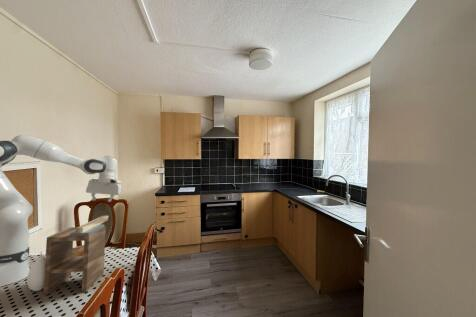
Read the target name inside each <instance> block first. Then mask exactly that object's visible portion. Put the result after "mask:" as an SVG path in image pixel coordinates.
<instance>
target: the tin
mask: <svg viewBox="0 0 476 317" xmlns="http://www.w3.org/2000/svg"><path fill="white" fill-rule="evenodd" d="M72 256H84V244H83V245H79V246H75V247H73V250H72Z"/></svg>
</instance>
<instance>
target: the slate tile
mask: <svg viewBox="0 0 476 317" xmlns="http://www.w3.org/2000/svg"><path fill="white" fill-rule="evenodd" d="M103 227H105V224H104V223H101V224H99V225H97V226H95V227H94V228H92V229H90V230H88V231H86V232H84V233H76V231H74V232H72V233H70V236H89V235H91V234H93V233H95V232H96V231H98V230H100V229H102V228H103Z"/></svg>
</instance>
